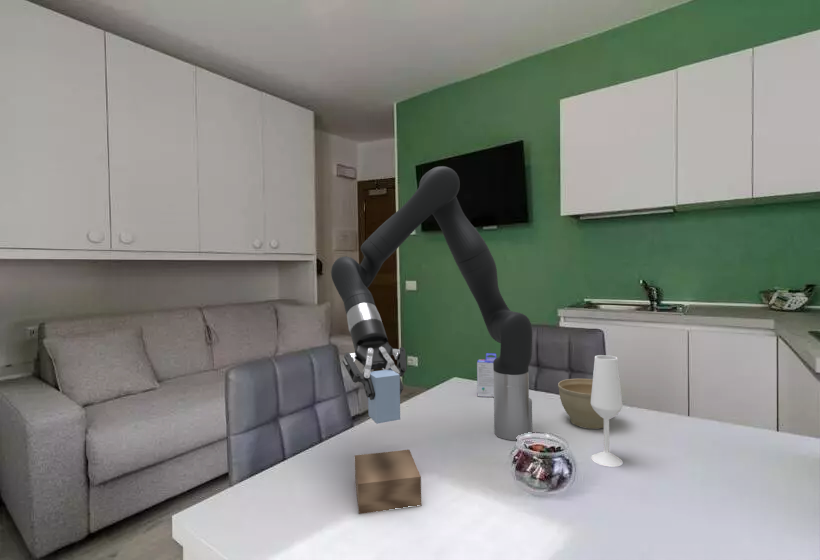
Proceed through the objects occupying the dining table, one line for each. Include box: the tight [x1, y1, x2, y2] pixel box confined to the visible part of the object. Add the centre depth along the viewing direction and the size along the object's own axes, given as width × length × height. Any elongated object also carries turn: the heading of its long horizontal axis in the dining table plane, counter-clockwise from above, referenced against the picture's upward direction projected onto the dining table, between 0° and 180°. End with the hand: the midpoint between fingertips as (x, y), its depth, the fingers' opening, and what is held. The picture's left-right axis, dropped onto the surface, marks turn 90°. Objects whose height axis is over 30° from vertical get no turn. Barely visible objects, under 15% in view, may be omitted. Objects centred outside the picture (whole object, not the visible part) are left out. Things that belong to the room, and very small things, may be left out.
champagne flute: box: [590, 354, 624, 468], centre depth 96 cm, size 7×7×24 cm
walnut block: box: [353, 449, 422, 515], centre depth 84 cm, size 12×12×6 cm
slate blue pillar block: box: [367, 369, 401, 425], centre depth 84 cm, size 5×5×9 cm
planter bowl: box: [557, 378, 604, 430], centre depth 118 cm, size 16×16×11 cm
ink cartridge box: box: [476, 352, 497, 398], centre depth 145 cm, size 10×6×14 cm, turn 78°
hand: (386, 395), depth 83 cm, fingers closed on slate blue pillar block, 5 cm apart
